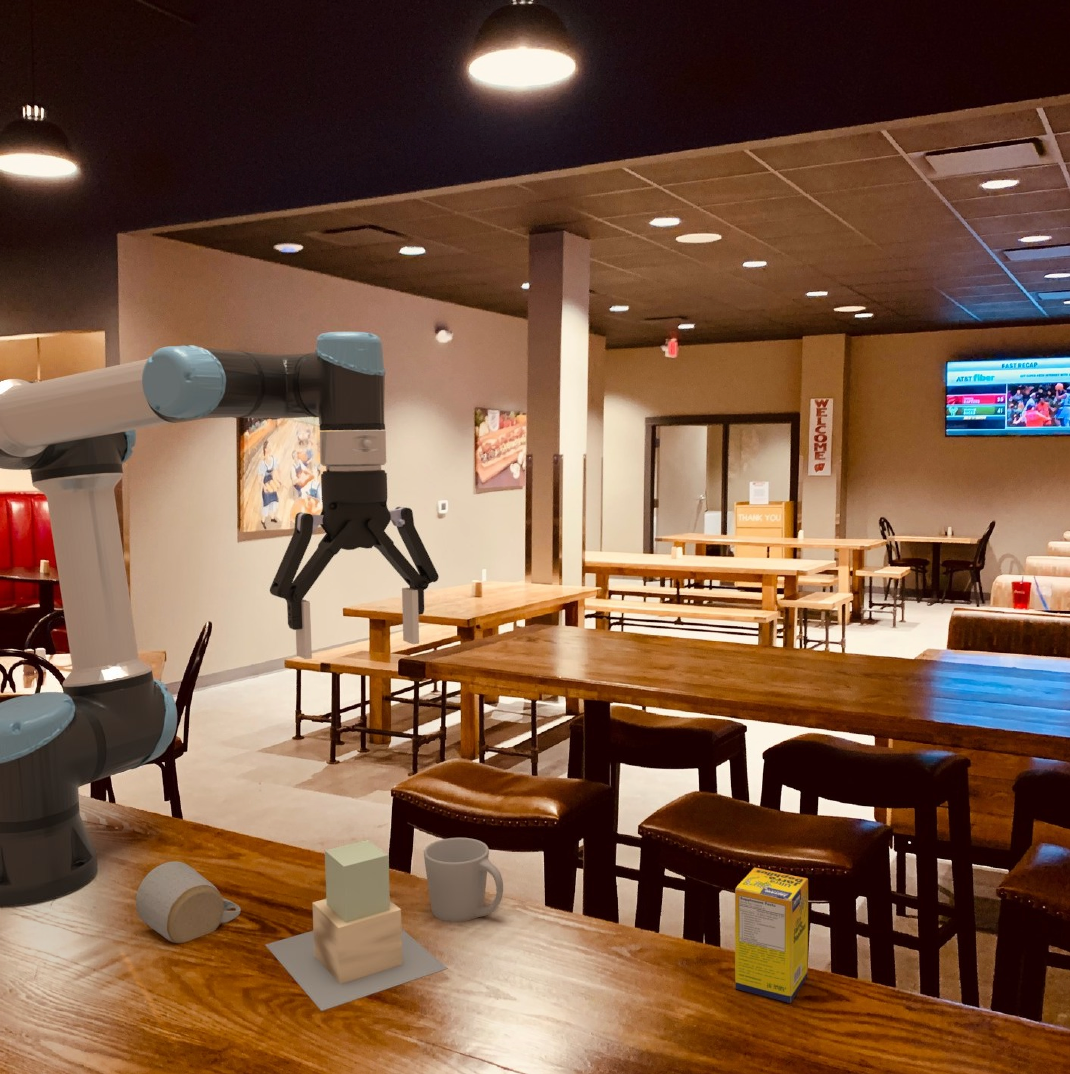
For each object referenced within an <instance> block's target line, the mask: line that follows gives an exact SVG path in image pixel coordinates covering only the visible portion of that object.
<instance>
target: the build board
mask: <svg viewBox="0 0 1070 1074" xmlns="http://www.w3.org/2000/svg"><path fill="white" fill-rule="evenodd" d="M401 929H402V964H401V965H398V966H395V967H392V968H389V969H386V970H383V971H380V972H376V973H373V974H370V975H367V976H364V977H361V978H358V979H355V980H352V981H349V982H346V983H343V984H340V983H339V982H338V981H337V980H336V979H335V978H334V977H333V975H332V974H331V973H330V972H329V971H328V970H327V969H326V968H325V967H324V966H323V965H322V964H321V963H320V961H319V960H318V959H317V958H316V957H315V956H314V931H313V930H311V931H308V932H303V933H301V934H297V935H294V936H293V935H292V936H290V937H286V938H283V939H281V940H276V941H272V942H268V943H266V944H265V946H266V948H267V949H268V950H269V951H270V953H271V954H272V955H273V956H274V957H275V959H276V960H277V961H278V962H279V963H280V964H281V966H283V968H284V969H285V970H286V971H287V973H288V974H289V975H290V977H292V979H293V980H294V981H295V983H297V984H298V986H300V988H301V989H302V991H304V993H305V994H307V996H308V998H310V999H311V1001H312V1002H313V1003H314V1004H315V1005H316V1006H317V1007H316V1008H318V1009H319V1011H321V1012H323V1011H327V1010H329V1009H332V1008H335V1007H339V1006H340V1005H341V1006H342V1005H343V1004H347V1003H350V1002H353V1001H356V1000H359V999H361V998H364V997H368V996H371V995H374V994H377V993H380V992H382V991H385V990H388V989H392V988H395V987H398V986H400V985H403V984H406V983H409V982H412V981H415V980H418V979H422V978H425V977H427V976H430V975H433V974H436V973H439V972H441V971H445V970H447V969H449V968H448V967H447V966H446V965H445V964H443V962H441V961H440V960H439V959H438V958H436V957H435V956H434V955H433V954H432V953H431V952H430V951H428V950H427V949H426V947H424V946H423V945H422V944H420V943H419V942H418V941H417V940H416V939H414V938H413V937H412V936H411V935H410V934H409V933H407V932H406V931H405V930H404V928H402V927H401Z"/></svg>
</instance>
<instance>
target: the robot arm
mask: <svg viewBox="0 0 1070 1074" xmlns="http://www.w3.org/2000/svg"><path fill="white" fill-rule="evenodd" d="M382 342H383V341H382V340H381V338H380V337H379V336H378V335H376V334H374V333H371V332H364V331H328V332H323V333H320V334H319V335H318V336H317V338H316V347H315V349H314V351H315V352H310V353H269V352H258V351H257V352H256V351H245V350H229V349H218V348H208V347H201V346H197V345H192V344H190V345H189V344H188V345H186V344H185V345H177V346H176V345H175V346H172V345H171V346H170V345H169V346H164V347H161V348H158V349H156V350H155V351H154V353H153V354H152V355H151V356H150V357H148V358H145V359H142V360H136V361H135V360H134V361H131V362H127V363H122V364H117V365H112V366H108V367H103V368H98V369H93V370H88V371H83V372H78V373H74V374H70V375H69V374H68V375H66V376H65V375H64V376H60V377H54V378H51V379H46V380H40V381H27V380H24V379H20V378H9V379H4V380H0V469H2V470H13V471H22V470H23V471H25V470H26V471H27V470H29V471H30V476H31V477H30V478H31V484H32V486H33V487H34V488H35V489H37V490H38V491H40V492H41V493H42V494H43V495H44V496H45V497H46V501H47V508H48V514H49V520H50V521H49V522H50V529H51V535H52V540H53V547H54V555H55V561H56V567H57V574H58V581H59V588H60V593H61V595H60V596H61V600H62V608H63V615H64V621H65V627H66V634H67V640H68V641H67V642H68V648H69V655H70V662H71V666H72V668H71V671H70V672H69V674H68V676H66V678H65V679H64V680H63V682H62V690H63V692H58V691H45V692H44V691H43V692H36V693H33V694H30V695H26V694H25V695H21V696H16V697H14V698H10V699H7V700H4V701H2V702H0V907H10V906H11V907H13V906H24V905H28V904H29V905H31V904H36V903H41V902H44V901H49V900H52V899H57V898H60V897H62V896H65V895H67V894H69V893H73V892H74V891H76V890H79V889H80V888H82V887H84V886H86V885H87V884H88V883H90V882H91V881H92V880H93V879H94V878H95V877H96V875H97V873H98V870H99V869H98V856H97V855H98V853H97V851H96V849H95V846H94V844H93V842H92V839H91V837H90V835H89V832H88V830H87V828H86V825H85V823H84V821H83V819H82V816H81V813H80V798H79V797H80V795H79V788H80V787H82V786H85V785H88V784H91V783H93V782H96V781H100V780H102V779H105V778H108V777H111V776H112V775H117V774H118V773H121V772H125V771H128V770H134V769H137V768H139V767H142V766H143V765H145V764H146V763H149V762H151V761H153V760H156V759H157V758H159V757H160V756H162V755H163V754H164V753H165V752H166V751H167V748H168V747H169V746H170V744H171V743H172V741H173V739H174V736H175V735H176V730H177V724H178V710H177V706H176V701H175V698H174V695H173V694H172V693H171V692H169V691H168V690H169V689H168V686H167V685H166V684H165V683H163V682H162V681H161V680H159V679H157V678H154V674H153V668H152V666H150V665H149V664H147V663H145V662H144V661H143V660H141V658H140V657H139V650H138V646H137V645H138V644H137V638H136V633H135V631H136V630H135V624H134V618H133V612H132V611H133V610H132V604H131V597H130V590H129V584H128V576H127V570H126V563H125V557H124V556H125V555H124V550H123V543H122V536H121V529H120V522H119V515H118V510H117V503H116V496H115V495H116V494H115V488H116V486H117V484H118V483H120V481H121V480H122V479H123V478H124V472H123V471H124V470H123V464H124V463H125V462H127V461H128V460H129V459H130V458H131V456H132V455H133V453H134V450H133V448H134V447H135V446H136V441H137V432H136V430H142V429H146V428H153V427H157V426H158V427H159V426H164V425H169V424H170V425H171V424H176V423H178V424H179V423H185V422H192V421H199V420H204V419H205V420H206V419H221V418H225V419H226V418H233V419H242V418H243V419H259V420H272V421H275V420H280V419H299V418H300V419H301V418H312V417H313V418H318V425H319V426H318V427H319V458H320V460H319V461H320V463H319V464H320V465H321V466H323V467H325V470H324V471H322V473H320V485H321V487H320V488H321V503H322V504H321V505H322V509H321V513H320V514H311V513H308V512H307V513H306V512H301V511H300V512H297V513H296V514H295V519H294V529H293V530H294V531H293V534H292V536H291V538H290V541H289V544H288V545H287V549H286V550H285V552H284V555H283V557H282V560H281V562H280V564H279V567H278V569H277V571H276V573H275V576H274V578H273V580H272V583H271V584H270V587H269V593H270V594H271V595H272V596H274V597H278V598H281V599H284V600H285V601H286V606H287V607H286V608H287V609H286V610H287V625H288V627H289V629H291V630H293V631H295V643H296V648H295V649H296V656H298V657H299V658H302V659H304V660H311V659H313V658H312V657H313V656H312V655H313V653H312V628H311V627H312V625H311V623H312V622H311V602H310V600H306V599H304V597H306V595H307V594H308V592H310V589H311V588H312V587H313V586H314V584H315V583H316V581H317V580H318V578H319V577H320V576H321V574H322V573H323V571H324V570H325V568H327V566H328V565H329V563H330V561H332V559H333V557H335V556H336V555H337V554H338V553H339V552H340V551H341V550H345V551H351V550H352V551H354V550H356V549H359V548H361V549H366V550H367V549H373V547H374V548H375V549H376V550H378V552H380V553H381V555H382V556H383V557H384V559H386V560H387V562H388V563H389V564H390V565H391V567H392V568H393V569H394V570H395V571H396V572H397V573H398V574H399V576H400V577H401V578H402V579H403V580H404V581H405V583H407V585H408V586H409V587H402V589H401V594H402V595H401V596H402V597H401V599H402V601H401V603H402V633H403V634H402V635H403V636H402V639H403V641H404V642H406V643H408V644H411V645H419V644H420V625H419V621H420V620H419V618H420V617H419V616H420V615H424V612H425V591H426V590H427V589H428V587H429V585H430V584H431V583H436V582H437V581H438V580H439V577H440V576H439V574H438V572H437V569H436V567H435V565H434V563H433V561H432V559H431V557H430V555H429V553H428V551H427V549H426V547H425V545H424V543H423V541H422V539H421V536H420V534H419V532H418V531H417V529H416V527H415V519H414V512H413V510H412V509H411V508H410V507H406V506H405V507H404V506H396V507H395V509H390V510H389V508H388V505H387V503H388V473H387V472H386V470H385V469H382V466H385V465H386V463H387V438H386V423H385V388H386V387H385V385H386V383H385V380H386V379H385V376H386V369H385V365H384V355H383V353H384V352H383V343H382ZM390 523H392V525H393V526H394V527H396V529H397V532H398V533H399V536H400V537H401V540H402V542H403V544H404V546H405V549H406V550H407V552H408V554H409V556H410V558H411V560H412V562H413V564H414V566H413V565H412V564H411V563H410V561H409V560H408V558H406V556H405V555H403V553H402V552H401V551H400V549H398V547H397V546H396V545H395V544H394V543H395V542H394V541H393V540H392V539H391V537H390V536H389V534H387V532H385V530H386V529H387V527H388V525H389V524H390ZM319 526H320V527H321V529H322V530H323V531H324V533H325V534H324V536H323V538H321V540H320V542H318V544H317V548H316V549H315V551H314V553H313V554H312V555H311V556H310V558H309V559H308V561H307V562H306V563H305V565H304V566H303V567H302V569H301V570H300V571H299V572H298V570H299V567H300V566H301V563H302V561H303V559H304V556H305V554H306V552H307V549H308V546H309V545H310V542H311V540H312V535H313V534H314V533H315V532H316V531H317V530H318V528H319ZM297 573H298V574H297ZM296 574H297V575H296Z"/></svg>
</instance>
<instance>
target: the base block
mask: <svg viewBox="0 0 1070 1074" xmlns="http://www.w3.org/2000/svg"><path fill="white" fill-rule="evenodd" d="M312 925H313V926H312V927H313V930H312V931H314V956H315V957H316V958H317V959H318V960H319V961H320V963H321V964H322V965H323V966H324V967H325V968H326V969H327V970H328V971H329V972H330V973H331V974H332V975H333V977H334V978H335V979H336V980H337V981H338V982H339V983H340V984H343V983H346V982H349V981H352V980H355V979H358V978H361V977H364V976H367V975H370V974H373V973H376V972H380V971H383V970H386V969H389V968H392V967H395V966H398V965H401V964H402V929H403V928H402V909H401V908H400V907H399V906H398V905H396V904H395V903H394V902H392V901H391V900H390V910H388V911H385V912H381V913H378V914H374V915H371V916H368V917H364V918H361V919H357V920H354V921H351V922H347V923H345V922H344V921H343V920H342V919H341V918H340V917H339V916H338V915H337V914H336V913H335V912H334V911H333V910H332V909H330V908H329V907H328V906H327V902H326V898H323V899H321V900H317V901H312ZM401 928H402V929H401Z"/></svg>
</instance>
